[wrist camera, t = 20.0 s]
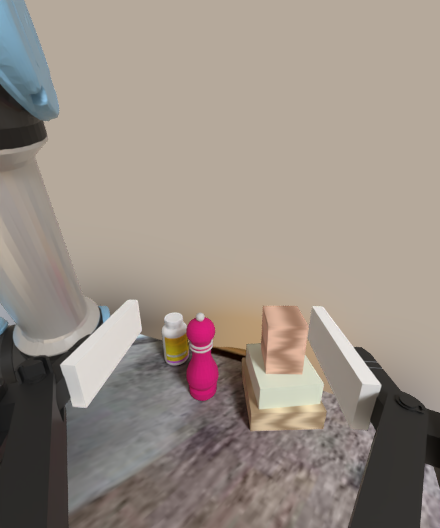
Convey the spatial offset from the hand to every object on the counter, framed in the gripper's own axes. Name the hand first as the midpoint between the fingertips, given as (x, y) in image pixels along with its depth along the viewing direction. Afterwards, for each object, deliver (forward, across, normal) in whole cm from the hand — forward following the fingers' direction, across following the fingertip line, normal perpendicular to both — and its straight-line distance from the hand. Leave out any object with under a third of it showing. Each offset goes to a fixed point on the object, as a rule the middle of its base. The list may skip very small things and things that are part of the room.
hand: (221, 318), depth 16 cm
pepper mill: (+23, -6, -34) cm, 42 cm away
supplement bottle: (+32, -15, -34) cm, 50 cm away
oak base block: (+22, +10, -34) cm, 42 cm away
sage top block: (+23, +10, -30) cm, 39 cm away
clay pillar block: (+23, +10, -24) cm, 35 cm away
